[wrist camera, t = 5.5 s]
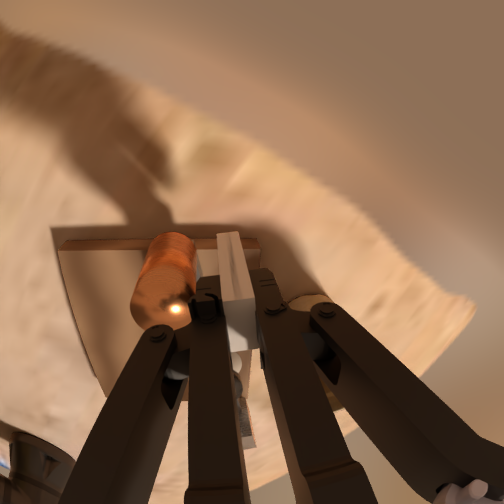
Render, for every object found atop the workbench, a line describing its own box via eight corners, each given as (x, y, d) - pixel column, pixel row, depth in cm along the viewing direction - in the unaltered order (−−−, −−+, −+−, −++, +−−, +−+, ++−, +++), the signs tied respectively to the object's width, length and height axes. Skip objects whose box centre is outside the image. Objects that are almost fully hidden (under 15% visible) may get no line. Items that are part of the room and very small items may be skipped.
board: (108, 384, 29) (105, 398, 27) (66, 240, 21) (56, 252, 19) (245, 385, 32) (247, 399, 30) (256, 238, 24) (261, 250, 22)
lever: (252, 410, 30) (264, 468, 23) (212, 417, 30) (218, 475, 23) (201, 215, 20) (201, 273, 13) (137, 229, 19) (106, 291, 12)
